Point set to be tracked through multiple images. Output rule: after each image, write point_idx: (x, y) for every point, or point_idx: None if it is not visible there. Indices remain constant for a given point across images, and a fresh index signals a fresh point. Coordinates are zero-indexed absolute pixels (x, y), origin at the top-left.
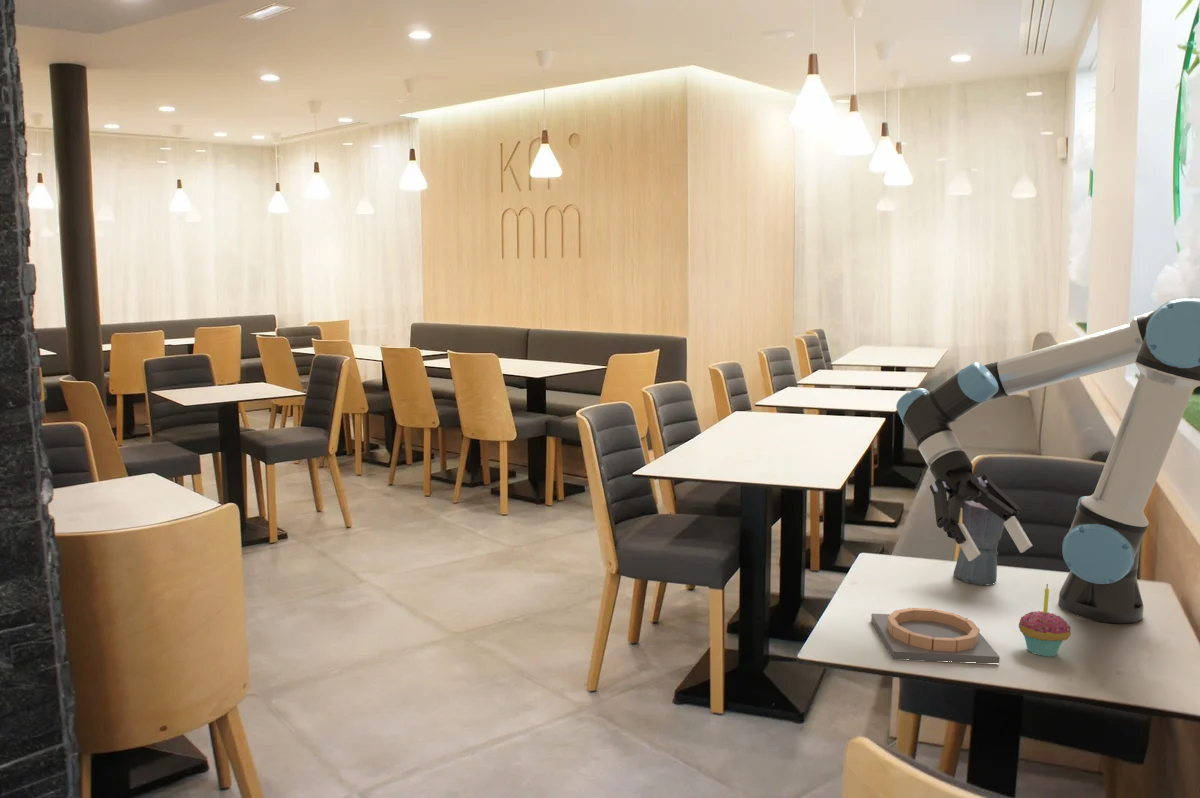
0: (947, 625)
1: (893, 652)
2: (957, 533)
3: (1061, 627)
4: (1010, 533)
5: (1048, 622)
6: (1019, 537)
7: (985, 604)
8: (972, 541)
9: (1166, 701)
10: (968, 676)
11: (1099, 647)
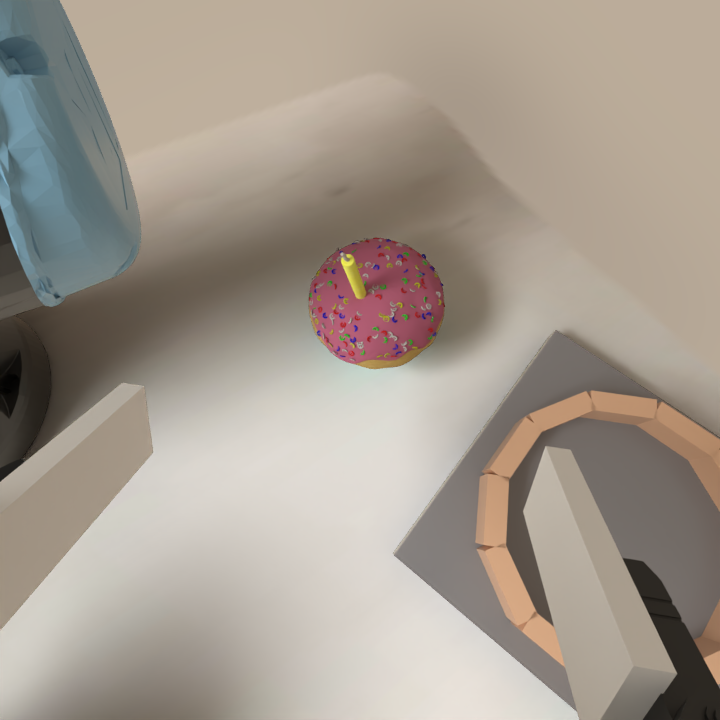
0: (508, 548)
1: None
2: (683, 624)
3: (388, 241)
4: (72, 536)
5: (411, 259)
6: (101, 459)
7: (161, 643)
8: (581, 509)
9: (390, 97)
10: (670, 338)
11: (230, 274)
